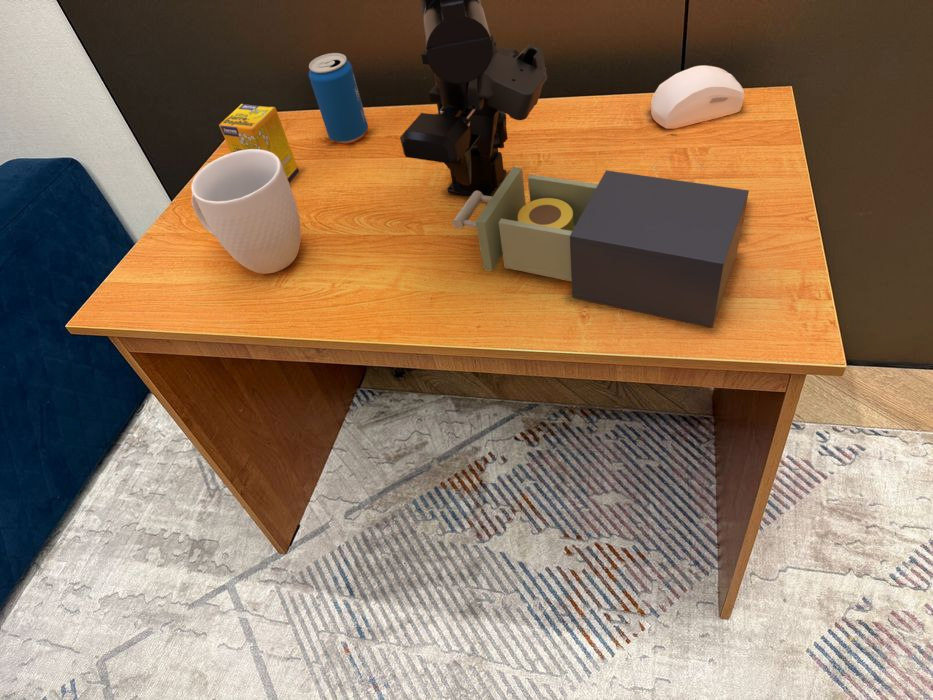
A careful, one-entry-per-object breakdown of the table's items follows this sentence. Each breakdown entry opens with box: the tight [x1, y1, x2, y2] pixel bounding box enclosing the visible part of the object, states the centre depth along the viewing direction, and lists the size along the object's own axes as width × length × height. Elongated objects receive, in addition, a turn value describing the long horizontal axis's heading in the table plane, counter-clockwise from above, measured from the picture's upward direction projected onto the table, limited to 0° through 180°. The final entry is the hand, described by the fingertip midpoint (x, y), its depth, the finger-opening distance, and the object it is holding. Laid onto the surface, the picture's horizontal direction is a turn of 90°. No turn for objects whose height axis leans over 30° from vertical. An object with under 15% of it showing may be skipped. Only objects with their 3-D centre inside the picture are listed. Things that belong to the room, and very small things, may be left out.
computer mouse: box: [650, 65, 745, 130], centre depth 99 cm, size 6×13×6 cm, turn 102°
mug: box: [190, 149, 302, 275], centre depth 88 cm, size 15×11×13 cm
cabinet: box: [570, 170, 750, 329], centre depth 76 cm, size 16×12×9 cm
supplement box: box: [218, 103, 300, 183], centre depth 101 cm, size 6×6×11 cm
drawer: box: [452, 166, 599, 283], centre depth 82 cm, size 19×11×7 cm, turn 64°
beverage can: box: [308, 52, 369, 144], centre depth 106 cm, size 6×6×12 cm
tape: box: [518, 198, 574, 231], centre depth 82 cm, size 6×6×4 cm
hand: (476, 170), depth 80 cm, fingers open, 5 cm apart
